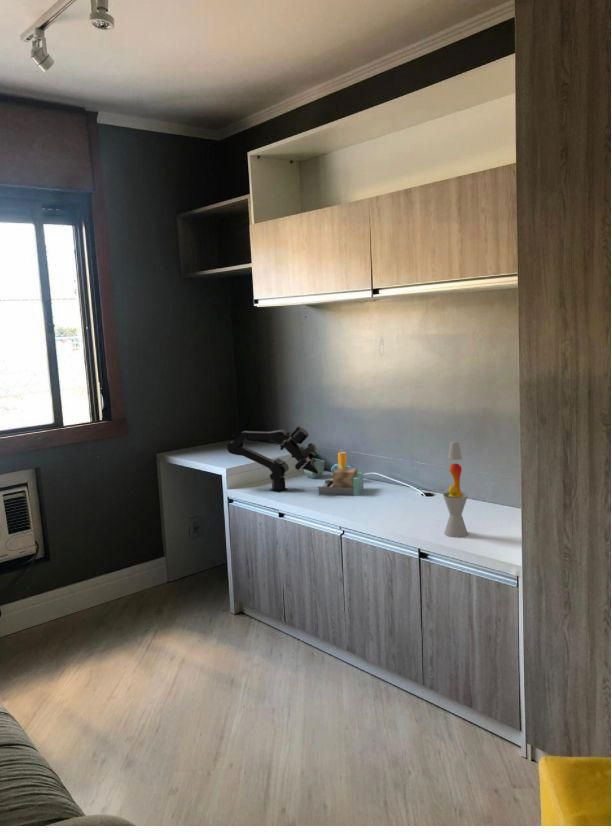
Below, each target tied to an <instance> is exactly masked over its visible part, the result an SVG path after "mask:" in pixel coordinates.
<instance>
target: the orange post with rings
mask: <svg viewBox="0 0 612 834" xmlns="http://www.w3.org/2000/svg"><path fill="white" fill-rule="evenodd" d="M337 454H338V455H337V459H338V461H337V462H338V463H335V464H334V465H332V467H331V469H330V471H331V473H332V474H333V471H335V470H336V469H337V468H355V467H354V464H352V463H349V464H347V452H346V451H340V452H337Z"/></svg>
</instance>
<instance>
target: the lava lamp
mask: <svg viewBox="0 0 612 834" xmlns="http://www.w3.org/2000/svg"><path fill="white" fill-rule="evenodd" d="M447 458H448V459H449V460H453V461H455V460H459V461H460V460H462V453H461V447H460V442H459V441H451V442H450V443H449V451H448V457H447ZM449 472H450V474H451V476H452V478H453V483H454V484H452V485H449V487H448V492H445V493H443V494H442V496H443V499H444V501H445V502H444V503H445V504H446V507H447V510H448V513H449V515H448V516H449V517H448V519H447V523H446V526H445V530H444V533H443V534H444V535H445V537H446V536H447V537H450V538H464V537H466V536H468V535H469V534H468V530H467V527H466V524H465V521H464V518H463V515H462V514H463V511H464V509H465V506H466V502H467V500H468V497H469V496H468V495H469V494H468V493H466V492H462V491H461V484H460V483H461V473H462V466H461V465H460V464H459V463H457V462H456V463H452V464H451V465H450V466H449Z"/></svg>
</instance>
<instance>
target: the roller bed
mask: <svg viewBox="0 0 612 834" xmlns="http://www.w3.org/2000/svg"><path fill="white" fill-rule="evenodd" d="M321 494H336V495H335V496H354V487H333V479H331V480H330V479H325V480H324V484H323V485H322V486H318V495H321Z"/></svg>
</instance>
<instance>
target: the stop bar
mask: <svg viewBox="0 0 612 834" xmlns="http://www.w3.org/2000/svg"><path fill="white" fill-rule="evenodd" d="M353 486H354V495H353V496H355V497H358V496H359V495H360V494H361V492H362V491H363V490H364V472H361V471H359V472H357V475H356V476H355V478H354V479H353Z"/></svg>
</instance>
